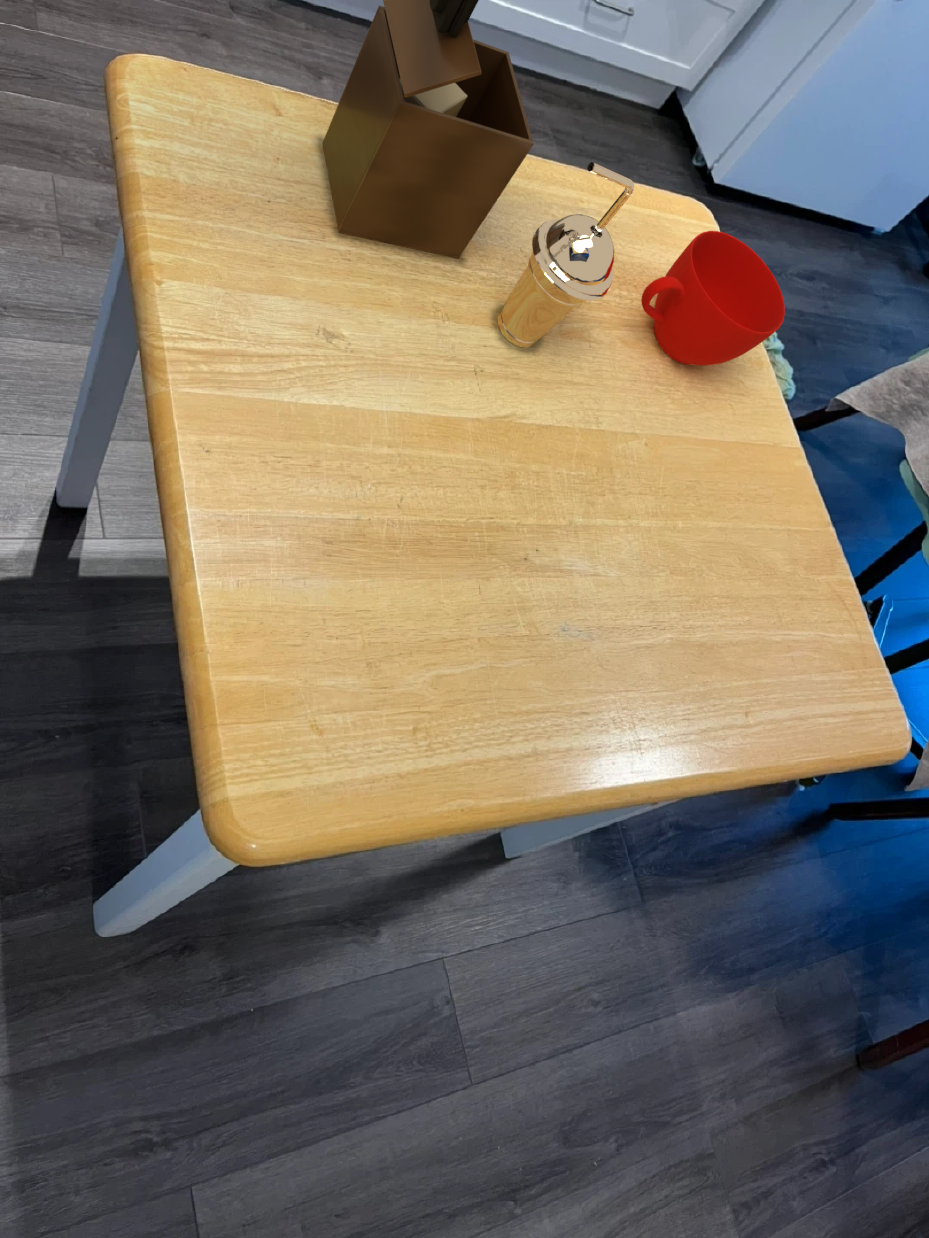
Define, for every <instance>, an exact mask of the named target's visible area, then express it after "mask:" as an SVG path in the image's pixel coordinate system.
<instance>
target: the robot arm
mask: <svg viewBox="0 0 929 1238" xmlns="http://www.w3.org/2000/svg"><path fill="white" fill-rule="evenodd" d="M479 1H480V0H430V7H431V10H432V13H433V17H434V22H435V26H436V30H437V31H438V32H440V33H445V32H447V33H448V34H449V36H451V37H454V38H456V37H457V35H458V33H459V31H460V29H461V27H462V25H463V23H467V22H468V23H469V20H470V18H471V16H472V15H473V12H474V11H475V9H476V7H477V5H478V3H479Z"/></svg>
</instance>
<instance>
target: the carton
mask: <svg viewBox="0 0 929 1238" xmlns="http://www.w3.org/2000/svg"><path fill="white" fill-rule="evenodd" d="M473 42H474V46H475V50H476V53H477V57H478V61H479V65H480V69H481V75H478V76H475V77H472V78H468V79H465V80H462V81H459V82H455V83H456V84H457V85H458V86H459V87H460V89H461V90H462V91H463V92H464V93H465V94H466V95H467V98H466V100H465V102H464V104H463V105H462V107H461V109H460V111H459V113H458V114H457V116H456V117H454V116H451V115H447V114H444V113H441V112H438V111H434V110H431V109H428V108H425V107H421V106H418V105H415V104H412V103H408V102H405V101H404V98H403V94H402V89H401V85H400V80H399V79H400V74H399V70H398V65H397V61H396V56H395V52H394V47H393V43H392V38H391V34H390V29H389V25H388V20H387V16H386V11H385V7H384V5H383V6H382V5H378V7H377V10H376V11H375V15H374V17H373V19H372V21H371V24H370V26H369V28H368V31H367V33H366V36H365V38H364V41H363V43H362V46H361V48H360V51H359V53H358V55H357V58H356V60H355V63H354V65H353V67H352V70H351V72H350V75H349V77H348V79H347V81H346V84H345V87H344V89H343V92H342V94H341V97H340V99H339V101H338V104H337V106H336V109H335V111H334V114H333V115H332V119H331V120H330V123H329V125H328V128H327V131H326V133H325V135H324V138H323V140H322V148H323V154H324V160H325V165H326V171H327V177H328V182H329V188H330V192H331V198H332V204H333V209H334V215H335V220H336V221H335V222H336V226H337V231H338V233H339V234H344V235H349V236H353V237H357V238H362V239H367V240H372V241H376V242H381V243H384V244H385V243H386V244H390V245H394V246H399V247H404V248H407V249H408V248H409V249H414V250H417V251H422V252H427V253H430V254H436V255H441V256H445V257H451V258H454V259H460V257H461V255H462V254H463V253H464V251H465V249H466V248H467V247H468V246H469V244H470V242H471V241H472V239H473V237H474V236H475V234H476V233H477V232H478V230H479V228H480V227H481V226H482V224H483V222H484V221H485V219H486V218H487V216H488V215H489V213H490V212H491V210H492V209H493V207H494V206H495V204H496V202H497V201H498V200H499V198H500V197H501V195H502V194H503V192H504V191H505V189H506V188H507V186H508V185H509V183H510V181H511V180H512V178H513V177H514V175H515V174H516V172H517V171H518V169H519V168H520V166H521V165H522V163H523V162H524V160H525V158H526V157H527V156H528V155H529V153H530V152H531V150H532V149H533V146H534V144H535V143H534V140H533V136H532V131H531V128H530V125H529V121H528V117H527V114H526V110H525V107H524V103H523V99H522V96H521V91H520V88H519V85H518V81H517V78H516V74H515V71H514V66H513V63H512V60H511V56H510V53H509V51H507V50H504V49H501V48H498V47H495V46H493V45H490V44H488V43H485V42H482V41H479V40H476V39H474V38H473Z"/></svg>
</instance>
